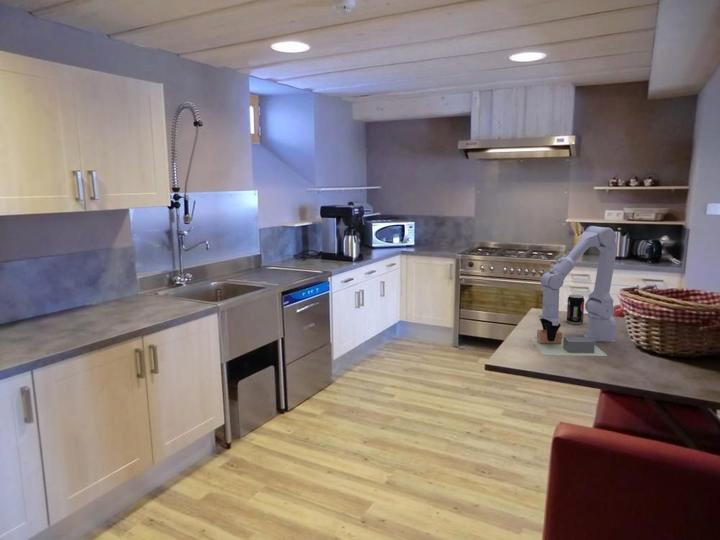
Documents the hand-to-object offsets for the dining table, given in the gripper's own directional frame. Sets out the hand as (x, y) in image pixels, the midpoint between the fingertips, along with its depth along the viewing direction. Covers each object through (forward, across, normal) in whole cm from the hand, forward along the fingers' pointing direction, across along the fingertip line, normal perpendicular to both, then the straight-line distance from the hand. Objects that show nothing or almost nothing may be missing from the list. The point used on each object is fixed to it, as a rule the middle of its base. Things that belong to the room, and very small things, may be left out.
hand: (549, 338), depth 194 cm
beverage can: (+2, -30, +19) cm, 36 cm away
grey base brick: (+1, +9, +8) cm, 12 cm away
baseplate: (+2, +5, +5) cm, 7 cm away
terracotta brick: (+1, 0, 0) cm, 1 cm away
